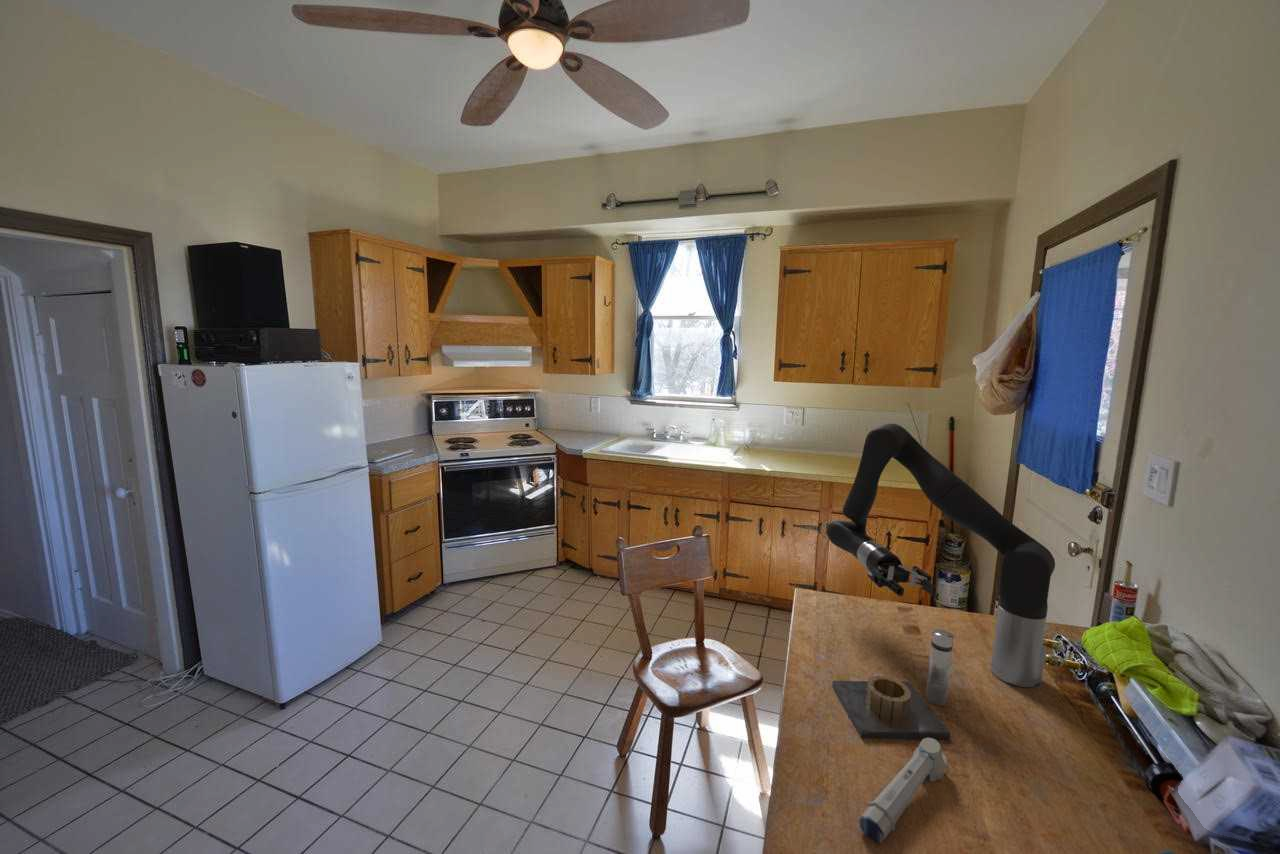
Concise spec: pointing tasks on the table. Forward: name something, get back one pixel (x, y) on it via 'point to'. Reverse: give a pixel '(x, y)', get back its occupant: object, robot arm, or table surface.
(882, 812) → the grey faceted piece
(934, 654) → the silver tall cylinder
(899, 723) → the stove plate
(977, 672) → the table surface
